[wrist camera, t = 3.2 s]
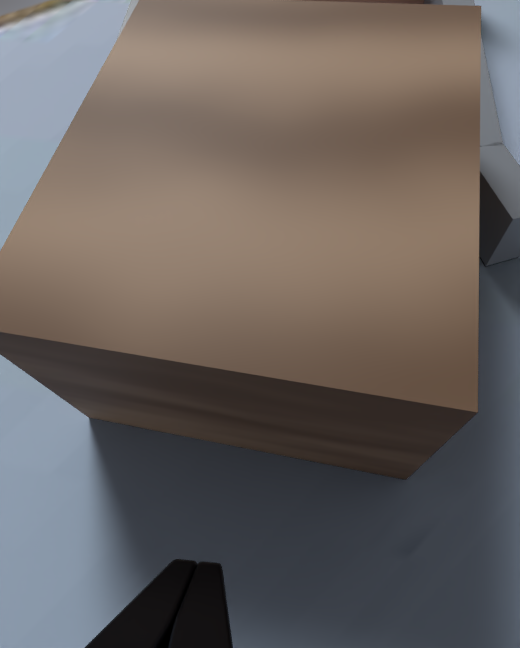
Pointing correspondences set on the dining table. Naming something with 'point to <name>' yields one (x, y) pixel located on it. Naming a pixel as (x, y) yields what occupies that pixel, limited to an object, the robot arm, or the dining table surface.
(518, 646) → the dining table surface
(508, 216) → the box pocket
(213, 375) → the walnut box
